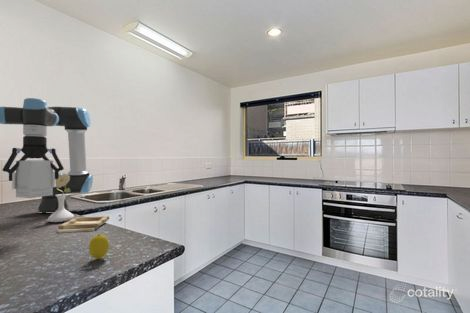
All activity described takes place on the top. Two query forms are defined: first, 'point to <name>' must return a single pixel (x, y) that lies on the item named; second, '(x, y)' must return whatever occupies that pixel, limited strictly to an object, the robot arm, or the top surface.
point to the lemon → (98, 246)
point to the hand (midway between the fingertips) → (34, 188)
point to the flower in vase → (61, 201)
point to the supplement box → (34, 178)
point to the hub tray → (82, 224)
